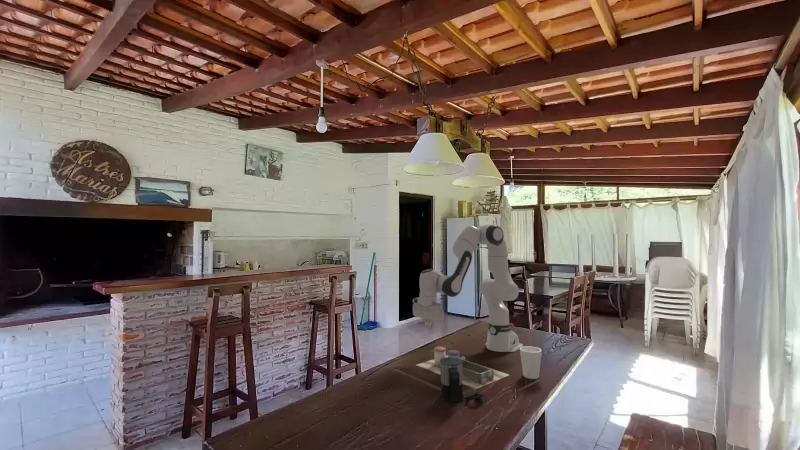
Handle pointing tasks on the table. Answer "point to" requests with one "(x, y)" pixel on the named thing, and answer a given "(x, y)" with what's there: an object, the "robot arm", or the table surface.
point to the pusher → (463, 361)
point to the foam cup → (531, 361)
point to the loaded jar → (453, 353)
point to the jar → (439, 354)
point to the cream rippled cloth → (470, 373)
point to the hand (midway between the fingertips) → (428, 327)
